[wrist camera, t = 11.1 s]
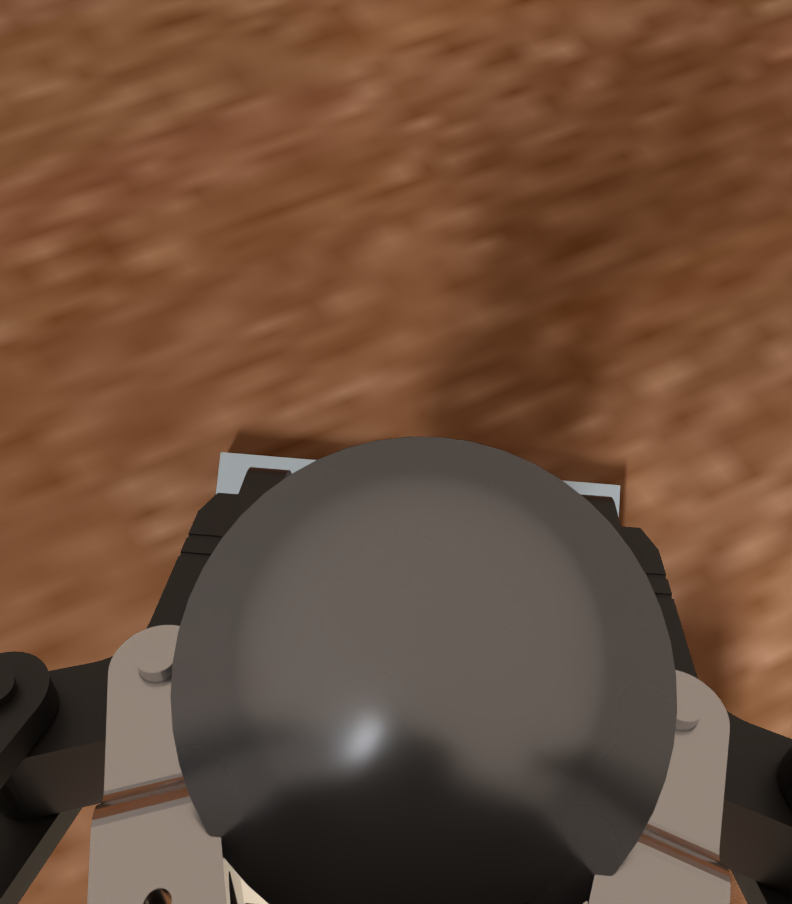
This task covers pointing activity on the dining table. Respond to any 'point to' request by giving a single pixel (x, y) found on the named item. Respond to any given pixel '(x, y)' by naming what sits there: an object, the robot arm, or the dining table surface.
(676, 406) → the dining table surface
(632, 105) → the dining table surface
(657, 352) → the dining table surface
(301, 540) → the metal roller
